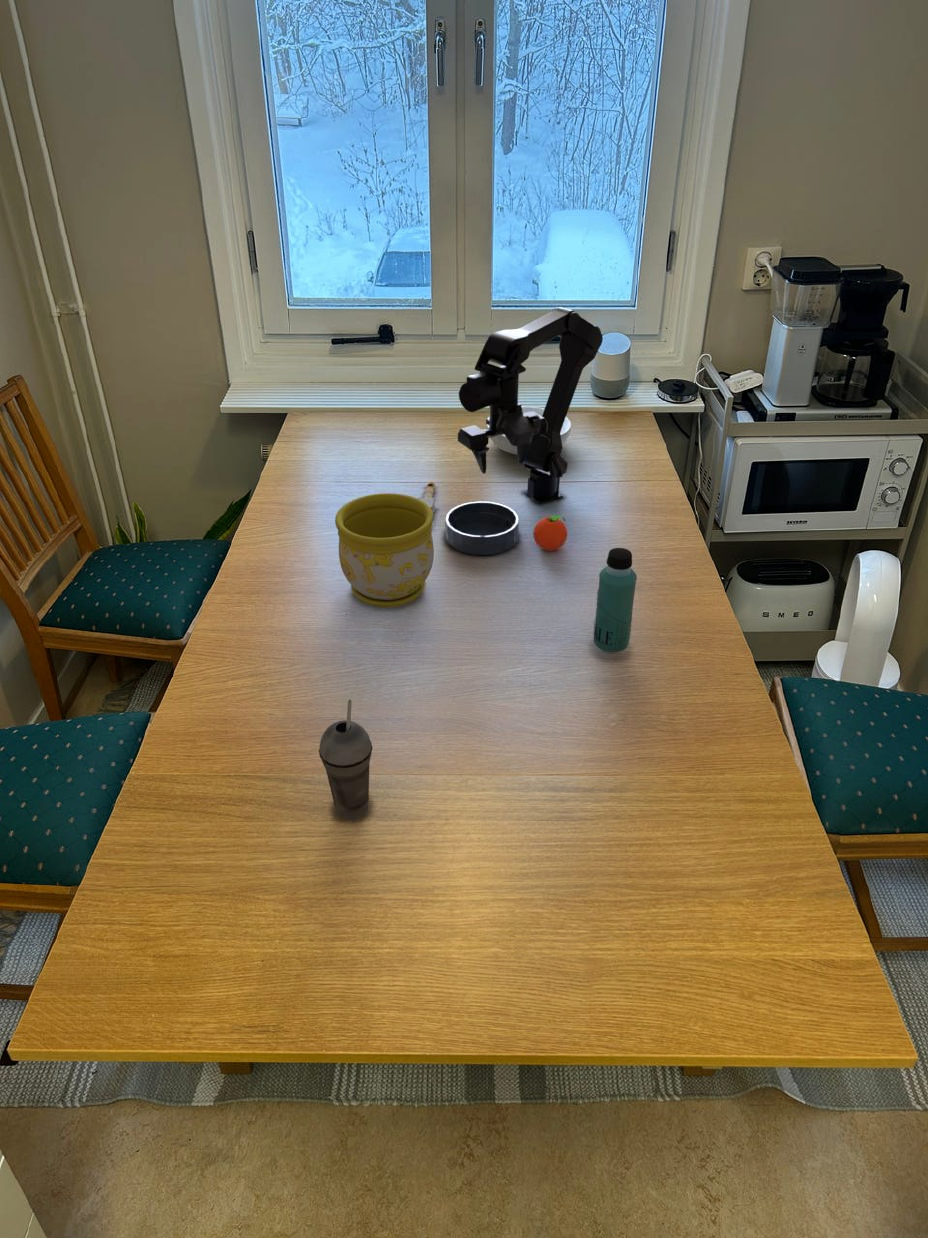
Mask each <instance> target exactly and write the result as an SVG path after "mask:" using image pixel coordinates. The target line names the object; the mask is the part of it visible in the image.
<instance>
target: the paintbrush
mask: <svg viewBox="0 0 928 1238" xmlns="http://www.w3.org/2000/svg"><path fill="white" fill-rule="evenodd" d="M425 487H426V488H425V492H424V496H423V497H417V499H419V500H421V501H423V502H425V503H426V504H427V505H428V506H429V507H430V508H431V510H432V512H433V514H434V513H435V511H436V506H435V503H436V502H435V498H433V496H434V493H435V489H436V483H435V482H434V481H428V482H427V483H426V486H425Z"/></svg>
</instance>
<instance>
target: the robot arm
mask: <svg viewBox="0 0 928 1238" xmlns="http://www.w3.org/2000/svg"><path fill="white" fill-rule="evenodd" d="M557 337H559V338H560V340H559V344H558V349H559V350H558V351H559V355H560V360H561V361H560V363H559V367H558V368H557V369H558V370H557V372H556V374H555V377H554V380H553V384H552V386H551V389H550V392H549V395H548V398H547V401H546V403H545V407H544V412H543V415H542V416H540V415H539V414H537V413H535V412H534V411H531V412H527V413H522V407H523V406H522V404H521V403H520V402H519V381H520V379H519V378H520V374H522V373H525V372H526V371H527V367H525V365H524V366H523V363H524V362H525V361H527V360H528V359H529V358H530V354H531V352H532V351H533V350H535V349H536V348H538V347H540V346H542V345H544V344H546V343H548V342H550V341H551V340H554V339H555V338H557ZM603 337H604V336H603V333H602V331H601V328H600V327H599V326H597V325H594V324H592V323H591V322H589V321H588V320H587V319H585V318H583V317H582V316H581V315H579V313H578V312H576V311H575V310H573V309H570V308H566V307H561V306H558V307H555V308H553V309H552V310H551V311H550V312H549V313H547V314H545V315H543V316H541V317H538V318H537V319H535V320H533V321H530V322H529V323H527V324H526V325H523V326H521V327H519V328H516V329H515V328H514V329H502V330H499V331H494V332H492V333H491V334H490V335H489V336H488V337H487V339H486V341H485V344H484V346H483V348H482V350H481V352H480V354H479V357H478V359H477V361H476V363H475V366H474V370H475V371H476V372H478V373H475V374H470V375H467V376H466V382H464V383H463V384H462V385H461V386H460V388H459V391H458V399H459V402H460V404H461V406H462V407H463V408H464V410H465V411H467V412H469V413H475V412H478V411H480V410H482V409H485V408H487V407H488V408H489V416H488V417H489V418H488V417H487V418H485V424H488V425H489V428H488V429H487V428H484V429H482V428H480V427H479V426H477V425H476V424H473V425H469V426H465V427H462V428H460V429H459V430H458V432H457V442H458V443H460V444H461V445H463V446H464V447H466V448H467V449H468V450H469V451H471V452H472V454H473V457H474V458H475V460H476V463H477V465H478V467H479V469H480V472H481V473H482V474H483V475H485V474H486V473H487V453H488V451H489V450H490V447H488V445H489V439H490V438H492V437H496V436H500V435H505V436H506V437H507V439H508V440H509V442H510V444H511V445H513V446H517V456H516V457H517V461H518V464H520V465H523V468H524V469H527V470H529V477H528V478H527V489H525V490H524V494H526V495H527V496H528V497H530V498H531V499H533V500H534V502H535V501H536V502H537V503H538V504H545V503H547V502H551V501H554V500H557V499H561V498H563V497H564V495H563V493H561V492H560V483H561V482H560V480H561V479H560V478H564V475H565V474H566V473H567V470H568V467H569V463H568V462H567V461H566V460H565V459H564V458H563V457H562V456H561V454H562V451H563V445H562V441H561V435H560V432H561V429H562V426H563V423H564V421H565V418H566V417H567V415H568V412H569V409H570V407H571V403H572V401H573V398H574V395H575V392H576V390H577V386H578V384H579V382H580V378H581V377H582V372H583V370H584V368H585V367H586V366H588V364H590V363H591V362H593V360H594V359H596V356H597V354H598V351H599V350H600V348H601V346H602V344H603V339H604V338H603ZM490 362H491V363H490ZM492 363H494V364H497V365H494V364H492ZM498 365H501V366H498Z"/></svg>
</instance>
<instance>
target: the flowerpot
mask: <svg viewBox="0 0 928 1238" xmlns="http://www.w3.org/2000/svg"><path fill="white" fill-rule="evenodd" d="M433 523H434V513H433V512H432V510H431V508H430V507H429V506H428V505H427V504H426V503H425V502H423V501H421V500H419V499H418V497H414V496H411V495H408V494H403V493H393V492H391V493H389V492H388V493H387V492H386V493H385V492H384V493H383V492H381V493H372V494H368V495H363V496H360V497H357V498H355V499H352V500H350V501H348V502H346V503H345V504H344V505H342V506H341V507H340V508H339V510H338V511H337V512H336V515H335V519H334V524H335V527H336V530H337V536H338V559H339V565H340V568H341V570H342V573H343V575H344V577H345V579H346V580H347V582H348V583H349V584H350V589H351V592H352V594H353V596H355V597H357V598H358V599H359V600H360V601H361V602H362V603H365V604H366V605H368V606H372V607H374V608H375V607H376V608H384V609H390V608H397V607H402V606H404V605H407V604H410V603H412V602H413V601H415V600H416V599H417V598H418V597H419V596H420V595H421V594H422V593H423V592H424V590H425V588H426V584H427V583H426V581H427V579H428V578H429V576H430V573H431V571H432V568H433V563H434V556H435V547H434V539H433V534H432V532H433Z"/></svg>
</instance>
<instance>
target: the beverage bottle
mask: <svg viewBox="0 0 928 1238" xmlns="http://www.w3.org/2000/svg"><path fill="white" fill-rule="evenodd" d="M606 565H607V566H605V567H603V568H602V569H601V570H600V572H599V575H598V577H599V579H598V585H597V586H598V587H597V592H596V594H597V596H596V608H595V609H596V610H595V619H594V620H593V624H594V625H593V627H594V629H593V633H592V634H593V642H594V645H595V646H596V648H597V649H599V650H601V651H603V652H606V653H610V654H611V653H614V654H615V653H620V652H623V651H625V650H626V649H627V648H628V646H629V644H630V639H631V637H632V636H631V635H632V632H631V631H632V623H633V616H634V614H633V610H634V600H635V593H636V583H637V579H638V576H637V574H636V572H635V571H634V569H632V566H633V553H632V551H631V550H629V549H627V548H624V547H614V548H611V549H610V550H609V551H608V554H607V558H606Z"/></svg>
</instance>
